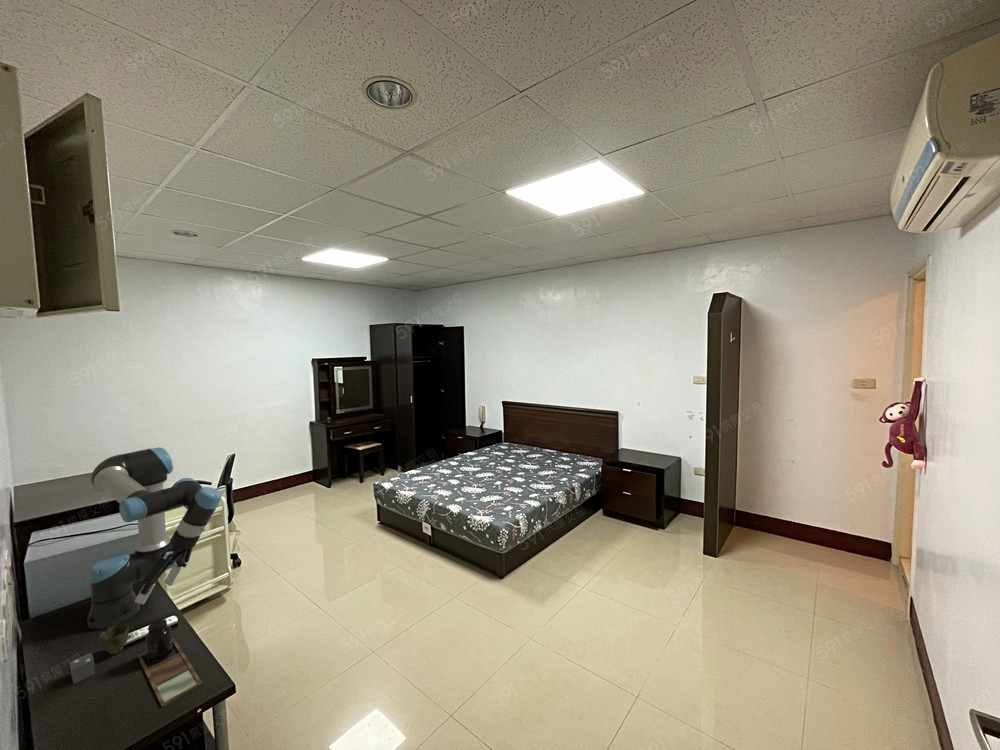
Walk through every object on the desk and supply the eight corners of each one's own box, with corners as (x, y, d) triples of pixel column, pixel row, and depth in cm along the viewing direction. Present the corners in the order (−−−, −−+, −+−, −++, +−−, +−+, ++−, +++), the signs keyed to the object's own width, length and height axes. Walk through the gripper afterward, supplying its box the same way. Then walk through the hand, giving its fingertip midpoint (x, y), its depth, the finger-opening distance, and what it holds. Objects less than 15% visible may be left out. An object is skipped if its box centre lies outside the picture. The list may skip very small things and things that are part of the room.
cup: (112, 661, 138) (110, 640, 138) (95, 658, 140) (93, 636, 139) (136, 645, 146) (134, 624, 145) (119, 642, 147) (117, 621, 146)
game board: (137, 657, 140) (137, 655, 140) (174, 639, 148) (174, 638, 148) (161, 707, 121) (161, 705, 121) (202, 684, 129) (202, 682, 129)
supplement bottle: (177, 651, 142) (174, 620, 141) (154, 666, 136) (151, 633, 135) (166, 645, 145) (163, 614, 144) (143, 659, 139) (140, 627, 138)
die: (71, 676, 133) (69, 661, 132) (92, 666, 137) (91, 652, 136) (73, 684, 130) (71, 669, 129) (95, 673, 134) (93, 659, 133)
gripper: (175, 549, 127) (137, 616, 124) (218, 526, 151) (188, 581, 148) (152, 540, 126) (113, 606, 123) (199, 518, 150) (168, 573, 148)
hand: (154, 592), depth 136 cm, fingers open, 13 cm apart
